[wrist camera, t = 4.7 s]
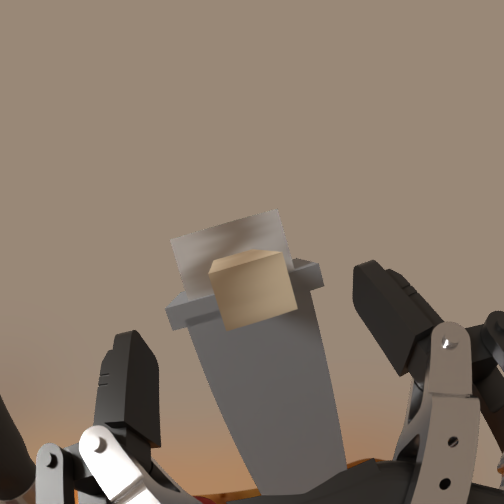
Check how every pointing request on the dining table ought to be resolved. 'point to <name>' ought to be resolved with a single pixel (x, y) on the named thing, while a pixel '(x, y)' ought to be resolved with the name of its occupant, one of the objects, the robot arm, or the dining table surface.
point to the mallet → (239, 268)
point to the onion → (204, 500)
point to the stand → (271, 387)
